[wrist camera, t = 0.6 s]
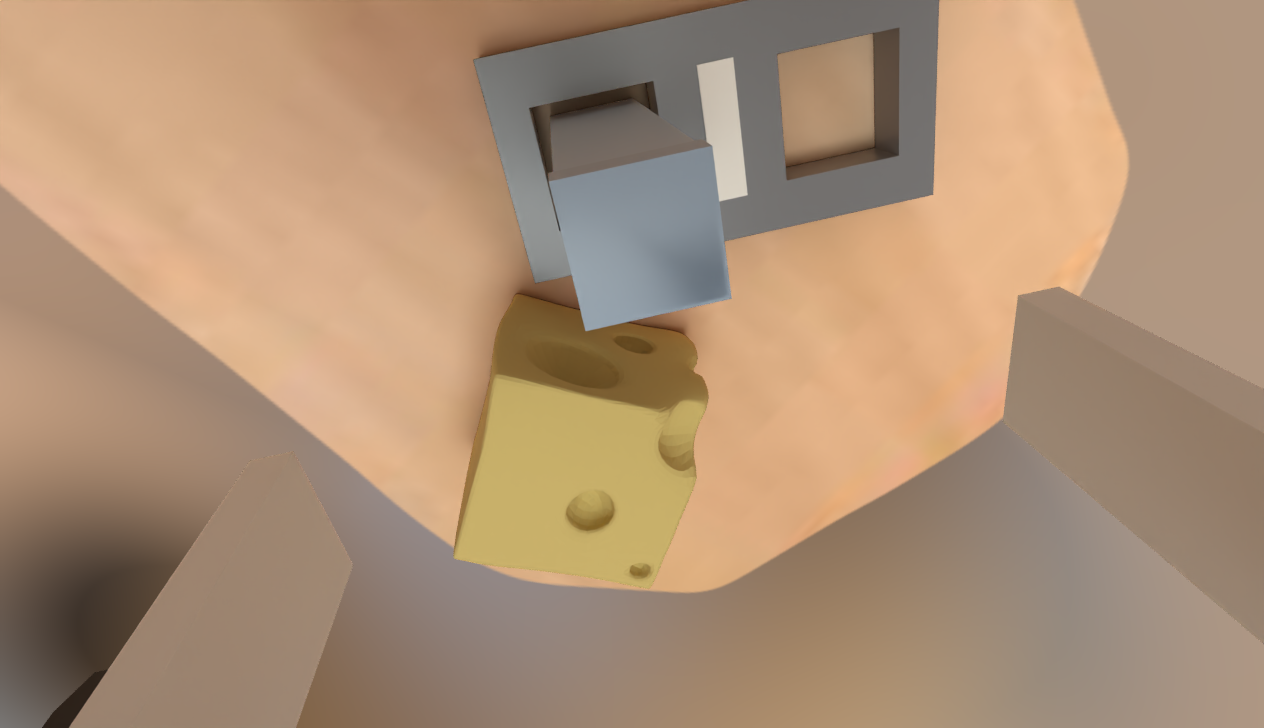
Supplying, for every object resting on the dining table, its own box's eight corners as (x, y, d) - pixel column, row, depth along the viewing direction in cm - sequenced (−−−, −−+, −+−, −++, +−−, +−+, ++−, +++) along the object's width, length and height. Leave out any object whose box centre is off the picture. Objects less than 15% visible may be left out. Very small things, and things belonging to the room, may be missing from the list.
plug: (547, 114, 30) (548, 181, 16) (634, 95, 30) (712, 145, 16) (567, 202, 32) (585, 331, 18) (649, 184, 32) (731, 298, 18)
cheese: (688, 329, 36) (734, 422, 27) (629, 481, 41) (653, 604, 32) (505, 281, 34) (491, 367, 25) (462, 448, 38) (437, 573, 29)
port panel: (478, 58, 29) (473, 59, 27) (910, -35, 29) (941, -42, 27) (535, 267, 33) (535, 284, 31) (907, 184, 34) (934, 195, 32)
